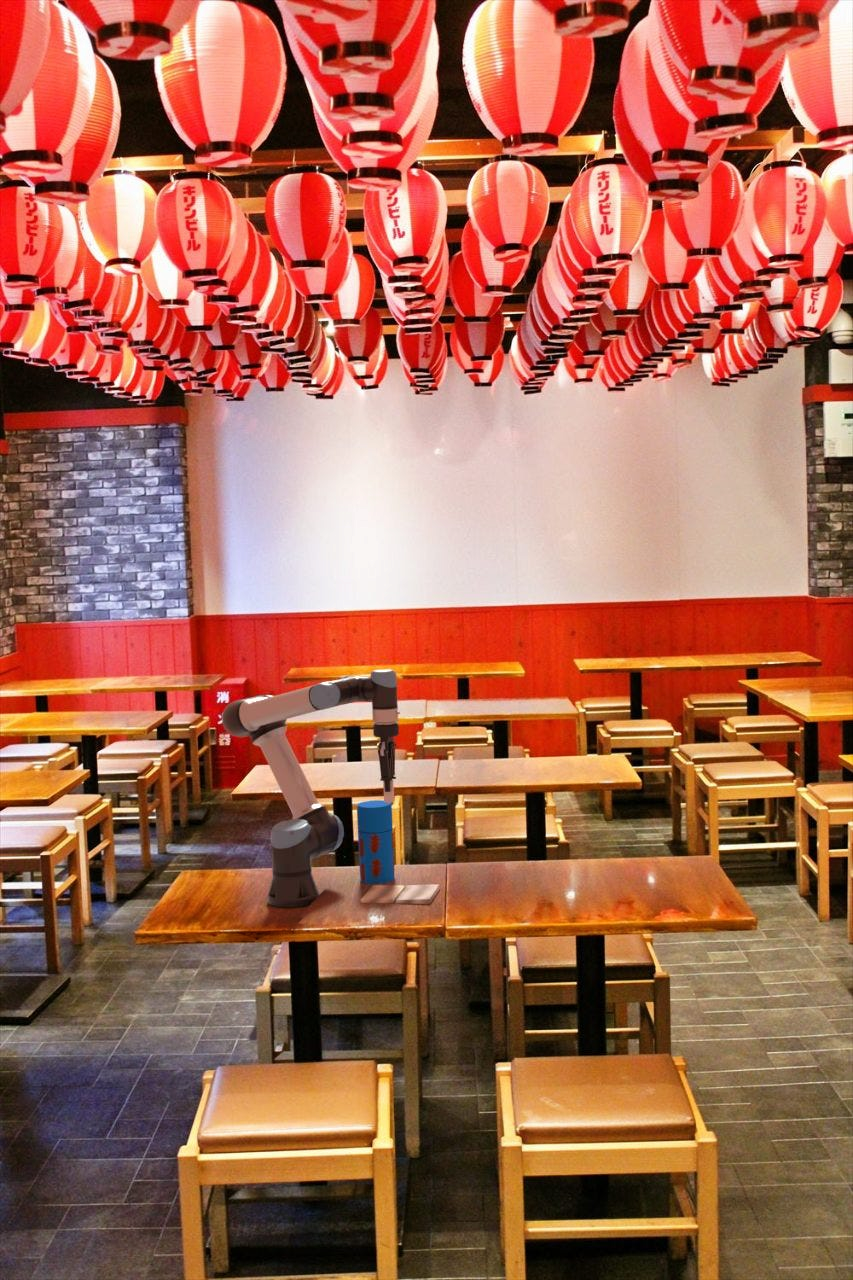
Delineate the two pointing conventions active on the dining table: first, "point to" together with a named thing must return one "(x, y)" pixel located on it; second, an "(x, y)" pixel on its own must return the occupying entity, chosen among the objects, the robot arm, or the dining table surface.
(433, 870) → the dining table surface
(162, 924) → the dining table surface
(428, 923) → the dining table surface
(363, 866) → the thermos
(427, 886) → the plank
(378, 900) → the floor board
